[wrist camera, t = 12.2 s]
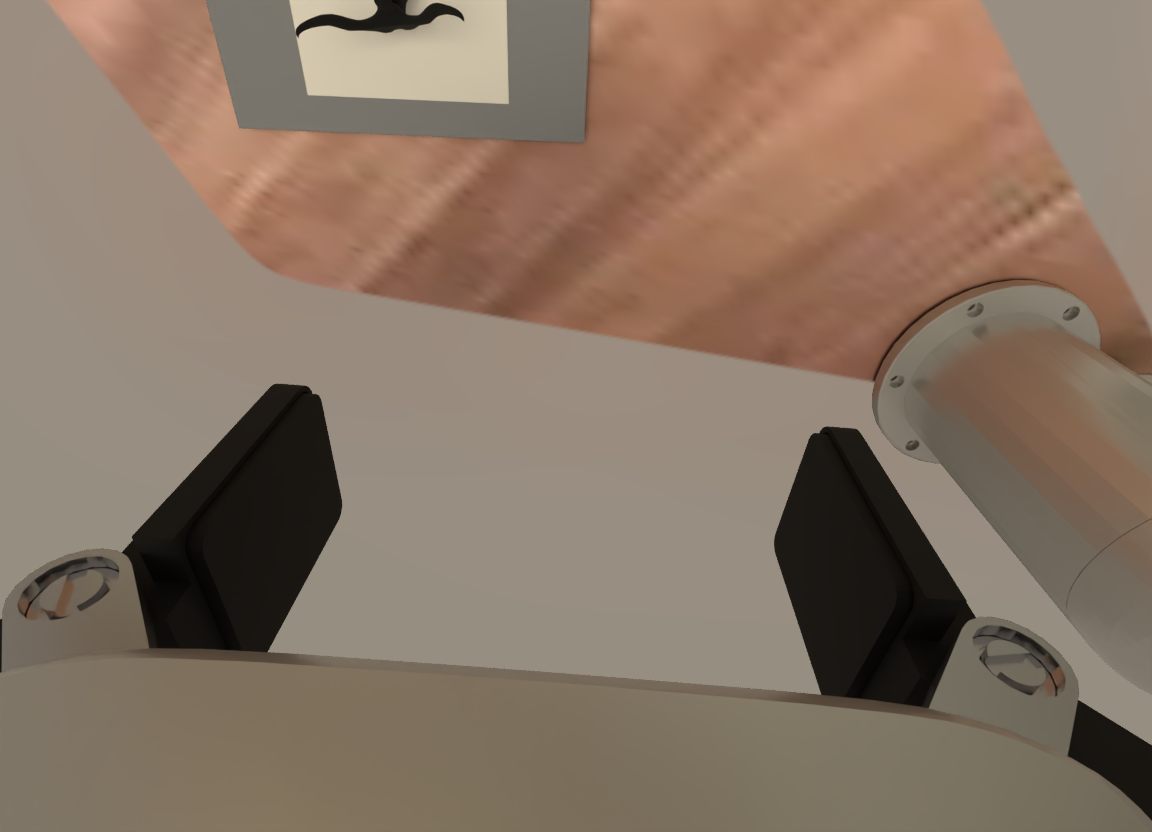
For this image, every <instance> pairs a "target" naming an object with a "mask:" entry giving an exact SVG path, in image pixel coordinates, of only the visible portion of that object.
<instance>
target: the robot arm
mask: <svg viewBox="0 0 1152 832" xmlns="http://www.w3.org/2000/svg"><path fill="white" fill-rule="evenodd" d="M872 407H873V412H874V416H875V420H876V423H877V424H878V426H879V428H880V429H881V431H882V433H883V434H884V435H885V437H887V439H888V440H889V441H890V443H891V444H892V445H893V446H894V447H895V448H896V449H898V450H899V451H900V452H902V453H904V454H905V455H908V456H910V457H913V458H915V459H918V460H921V461H926V462H932V463H941V464H942V466H943V467H944V468H945V469H946V470H947V472H948V473H949V474H950V475H951V477H952V478H953V479H954V480H955V482H956V483H957V484H958V485H959V486H960V488H961V489H962V490H963V491H964V493H965V494H966V495H967V496H968V497H969V499H970V500H971V501H972V502H973V504H974V505H975V506H976V507H977V508H978V510H979V511H980V512H981V513H982V515H983V516H984V517H985V518H986V520H987V521H988V522H989V523H990V524H991V526H992V527H993V528H994V529H995V530H996V532H997V533H998V534H999V535H1000V536H1001V538H1002V539H1003V540H1004V542H1005V543H1006V544H1007V545H1008V547H1009V548H1010V549H1011V550H1012V551H1013V553H1014V554H1015V555H1016V556H1017V557H1018V559H1019V560H1020V561H1021V562H1022V564H1023V565H1024V566H1025V567H1026V569H1027V570H1028V571H1029V572H1030V573H1031V575H1032V576H1033V577H1034V578H1035V580H1036V581H1037V582H1038V583H1039V585H1041V587H1042V588H1043V589H1044V591H1045V592H1046V593H1047V594H1048V596H1049V597H1050V598H1051V599H1052V600H1053V602H1054V603H1055V604H1056V605H1057V607H1058V608H1059V609H1060V610H1061V612H1062V613H1063V614H1064V615H1065V616H1066V618H1067V619H1068V620H1069V621H1070V623H1071V624H1072V625H1073V626H1074V627H1075V629H1076V630H1077V631H1078V632H1079V633H1080V635H1081V636H1082V637H1083V638H1084V639H1085V641H1086V642H1087V643H1088V644H1089V646H1090V647H1091V648H1092V649H1093V650H1094V651H1095V652H1096V653H1097V654H1098V655H1099V656H1100V658H1101V659H1102V660H1103V661H1104V662H1105V663H1106V664H1108V665H1109V666H1110V667H1111V668H1112V669H1114V670H1115V671H1116V672H1117V673H1118V674H1120V675H1121V676H1122V677H1124V678H1125V679H1127V680H1128V681H1130V682H1131V683H1133V684H1134V685H1136V686H1137V687H1138V688H1140V689H1142V690H1144V691H1146V692H1148V693H1150V694H1151V695H1152V374H1144V373H1135V372H1133V371H1132V370H1130V369H1129V368H1127V367H1125V366H1124V365H1122V364H1121V363H1119V362H1118V361H1116V360H1115V359H1113V358H1111V357H1110V356H1108V355H1107V354H1105V353H1104V352H1102V351H1101V350H1100V330H1099V326H1098V323H1097V320H1096V317H1095V316H1094V314H1093V313H1092V311H1091V310H1090V309H1089V307H1088V306H1087V304H1085V303H1084V302H1083V301H1081V300H1080V299H1078V298H1077V297H1076V296H1074V295H1073V294H1071V293H1069V292H1067V291H1065V290H1063V289H1061V288H1059V287H1058V286H1056V285H1052V284H1048V283H1044V282H1040V281H1034V280H1011V281H1003V282H996V283H991V284H988V285H985V286H981V287H978V288H975V289H971V290H969V291H966V292H964V293H962V294H960V295H958V296H956V297H953V298H951V299H949V300H947V301H946V302H944V303H942V304H941V305H939V306H938V307H936V308H934V309H933V310H931V311H930V312H928V313H927V314H926V315H924V316H923V317H922V318H921V319H919V320H918V321H917V322H916V323H915V324H913V325H912V326H911V327H910V328H909V329H908V330H907V331H906V332H905V333H904V334H903V335H902V337H901V338H900V339H899V340H898V341H897V342H896V343H895V344H894V346H893V347H892V349H891V350H890V352H889V353H888V355H887V356H886V358H885V359H884V361H883V363H882V365H881V367H880V370H879V372H878V374H877V377H876V380H875V384H874V389H873V394H872ZM341 509H342V499H341V494H340V489H339V484H338V479H337V474H336V470H335V465H334V460H333V455H332V451H331V445H330V441H329V436H328V431H327V426H326V421H325V417H324V411H323V407H322V402H321V399H320V397H319V395H317V394H312V391H311V390H310V388H309V387H307V386H301V385H288V384H274V385H272V386H271V387H270V388H269V389H268V391H266V392H265V394H264V395H263V396H262V397H261V398H260V399H259V400H258V401H257V402H256V403H255V404H254V405H253V406H252V408H251V409H250V410H249V411H248V412H247V413H246V414H245V415H244V416H243V417H242V418H241V420H239V422H238V423H237V424H236V425H235V426H234V427H233V428H232V429H231V430H230V431H229V432H228V433H227V435H226V436H225V437H224V438H223V439H222V440H221V441H220V442H219V443H218V444H217V445H216V447H215V448H214V449H213V450H212V451H211V452H210V453H209V454H208V455H207V456H206V457H205V458H204V459H203V460H202V461H201V463H200V464H199V465H198V466H197V467H196V468H195V469H194V470H193V471H192V472H191V473H190V474H189V476H188V477H187V478H186V479H185V480H184V481H183V482H182V483H181V484H180V485H179V486H178V487H177V489H176V490H175V491H174V492H173V493H172V494H171V495H170V496H169V497H168V498H167V499H166V500H165V501H164V502H163V504H162V505H161V506H160V507H159V508H158V509H157V510H156V511H155V512H154V513H153V514H152V515H151V517H150V518H149V519H148V520H147V521H146V522H145V523H144V524H143V525H142V526H141V527H140V528H139V529H138V531H137V532H136V533H135V534H134V535H133V536H132V539H133V541H132V542H131V543H130V544H129V545H128V546H127V547H126V548H125V550H124V551H123V552H122V553H121V552H119V551H116V550H110V549H92V550H84V551H80V552H76V553H72V554H68V555H66V556H63V557H61V558H58V559H56V560H54V561H51V562H49V563H47V564H45V565H44V566H42V567H40V568H39V569H37V570H35V571H34V572H32V573H30V574H29V575H28V576H27V577H26V578H24V579H23V580H22V581H21V582H20V583H18V584H17V585H16V586H15V587H14V589H13V590H12V592H11V593H10V594H9V596H8V597H7V598H6V600H5V604H4V607H3V611H2V619H0V832H1152V745H1150V744H1148V743H1147V742H1145V741H1144V740H1142V739H1140V738H1139V737H1137V736H1136V735H1134V734H1132V733H1131V732H1129V731H1128V730H1126V729H1124V728H1123V727H1121V726H1119V725H1118V724H1116V723H1115V722H1113V721H1111V720H1110V719H1108V718H1107V717H1105V716H1103V715H1102V714H1100V713H1098V712H1097V711H1095V710H1094V709H1092V708H1090V707H1089V706H1087V705H1086V704H1084V703H1082V702H1081V701H1079V700H1078V697H1079V688H1078V680H1077V678H1076V676H1075V674H1074V672H1073V670H1072V668H1071V666H1070V665H1069V664H1068V662H1067V661H1066V660H1065V659H1064V657H1062V655H1061V654H1060V653H1059V652H1058V651H1057V650H1056V649H1055V648H1054V647H1052V646H1051V645H1050V644H1049V643H1048V642H1047V641H1046V640H1044V639H1043V638H1041V637H1040V636H1038V635H1037V634H1035V633H1033V632H1032V631H1030V630H1029V629H1027V628H1025V627H1022V626H1020V625H1018V624H1015V623H1013V622H1011V621H1008V620H1004V619H999V618H995V617H978V618H976V617H975V615H974V614H973V612H972V611H971V609H970V608H969V606H968V604H967V603H966V599H965V598H964V596H963V595H962V593H961V591H960V590H959V588H958V587H957V585H956V583H955V582H954V580H953V579H952V577H951V575H950V574H949V572H948V571H947V569H946V568H945V566H944V564H943V563H942V561H941V560H940V558H939V557H938V555H937V553H936V552H935V550H934V549H933V547H932V545H931V544H930V542H929V541H928V539H927V537H926V536H925V534H924V533H923V532H922V530H921V528H920V526H919V525H918V523H917V522H916V520H915V519H914V517H913V515H912V514H911V512H910V511H909V509H908V507H907V506H906V504H905V503H904V501H903V500H902V498H901V496H900V495H899V493H898V492H897V490H896V489H895V487H894V485H893V484H892V482H891V481H890V479H889V477H888V476H887V474H886V473H885V471H884V470H883V468H882V466H881V465H880V463H879V462H878V460H877V458H876V457H875V455H874V454H873V452H872V450H871V449H870V447H869V446H868V444H867V443H866V441H865V439H864V438H863V436H862V435H861V433H860V432H859V431H858V430H857V429H852V428H839V427H824V428H823V429H822V430H821V431H820V433H814V434H812V435H811V437H810V439H809V441H808V444H807V447H806V449H805V452H804V455H803V458H802V461H801V464H800V466H799V469H798V472H797V475H796V478H795V481H794V483H793V486H792V489H791V492H790V494H789V497H788V500H787V503H786V506H785V509H784V511H783V514H782V517H781V520H780V523H779V526H778V528H777V531H776V534H775V540H774V546H775V553H776V557H777V560H778V563H779V566H780V569H781V572H782V575H783V578H784V581H785V584H786V587H787V590H788V593H789V597H790V600H791V603H792V606H793V609H794V612H795V615H796V618H797V621H798V624H799V627H800V630H801V633H802V636H803V639H804V643H805V646H806V649H807V652H808V655H809V658H810V661H811V664H812V667H813V670H814V673H815V676H816V679H817V683H818V685H819V689H820V692H821V695H817V694H806V693H796V692H786V691H775V690H763V689H750V688H739V687H726V686H714V685H701V684H690V683H678V682H666V681H652V680H641V679H629V678H616V677H602V676H590V675H577V674H564V673H551V672H539V671H525V670H511V669H498V668H484V667H472V666H459V665H446V664H431V663H416V662H403V661H389V660H373V659H360V658H346V657H333V656H318V655H305V654H288V653H270V652H268V650H269V648H270V646H271V644H272V643H273V641H274V639H275V637H276V635H277V633H278V631H279V629H280V628H281V626H282V624H283V622H284V620H285V618H286V617H287V615H288V613H289V611H290V609H291V607H292V605H293V604H294V602H295V600H296V598H297V596H298V594H299V592H300V591H301V589H302V587H303V585H304V583H305V581H306V579H307V578H308V576H309V574H310V572H311V570H312V568H313V567H314V565H315V563H316V561H317V559H318V557H319V555H320V553H321V552H322V550H323V548H324V546H325V544H326V542H327V540H328V539H329V537H330V535H331V533H332V531H333V529H334V528H335V526H336V524H337V522H338V520H339V518H340V515H341Z"/></svg>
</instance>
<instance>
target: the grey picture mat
mask: <svg viewBox="0 0 1152 832" xmlns="http://www.w3.org/2000/svg"><path fill="white" fill-rule="evenodd" d="M590 1H591V0H408V1H407V4H406V14H407V15H420V14H421V13H422V12H423V11H424V9H425V8H426V7H427V6H429V5H430V4H432V3H442V4H445V5H449V6H452V7H454V8H456V9H457V10H459V11H460V12H461V13H462V15H463V17H464V21H463V20H462V19H460V18H459V17H456V16H454V15H447V14H446V15H441V16H438V17H436V18H435V19H434V20H433V21H432V22H431V23H429V24H425V25H420V26H418V27H417V28H415V29H413V30H403V29H397V30H394V31H393V32H390V33H381V32H376V31H347V30H344V29H340V28H336V27H333V26H320V27H315V28H311V29H308V30H305V31H303V32H302V33H301V34H300V35H299V38H298V37H297V35H296V28H297V27H298V26H299V25H300V24H301V23H303V22H304V21H306V20H308V19H310V18H313V17H316V16H318V15H322V14H335V15H340V16H344V17H347V18H350V19H355V20H363V19H366V18H369V17H371V16H373V15H374V14H375V13H376V11H377V6H376V4H375V2H374V0H206V3H207V7H208V11H209V15H210V19H211V22H212V26H213V30H214V34H215V38H216V42H217V45H218V49H219V53H220V57H221V61H222V65H223V68H224V72H225V76H226V80H227V84H228V88H229V91H230V95H231V99H232V103H233V107H234V111H235V114H236V118H237V122H238V126H239V128H246V129H270V130H293V131H317V132H340V133H364V134H387V135H411V136H434V137H458V138H481V139H505V140H528V141H552V142H575V143H584V135H585V113H586V90H587V68H588V46H589V23H590Z"/></svg>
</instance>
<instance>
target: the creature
mask: <svg viewBox="0 0 1152 832" xmlns="http://www.w3.org/2000/svg"><path fill="white" fill-rule="evenodd" d="M407 1H408V0H374V2H375V4H376V6H377V11H376V13H375V14H374V15H373V16H371V17H369V18H366V19H363V20H355V19H350V18H347V17H344V16H340V15H335V14H322V15H318V16H316V17H313V18H310V19H308V20H306V21H304V22H303V23H301V24H300V25H299V26H298V27H297V28H296V35H297V37H298V38H299V35H300V34H301V33H302V32H303V31H305V30H308V29H311V28H315V27H320V26H333V27H336V28H340V29H344V30H347V31H376V32H381V33H390V32H393V31H394V30H397V29H403V30H413V29H415V28H417V27H418V26H420V25H425V24H429V23H431V22H432V21H433V20H434V19H435V18H436V17H438V16H441V15H446V14H447V15H454V16H456V17H459V18H460V19H462V20H463V21H464V17H463V15H462V13H461V12H460V11H459V10H457V9H456V8H454V7H452V6H449V5H445V4H442V3H432V4H430V5H429V6H427V7H426V8H425V9H424V11H423V12H422V13H421V14H420V15H407V14H406V4H407Z"/></svg>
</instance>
